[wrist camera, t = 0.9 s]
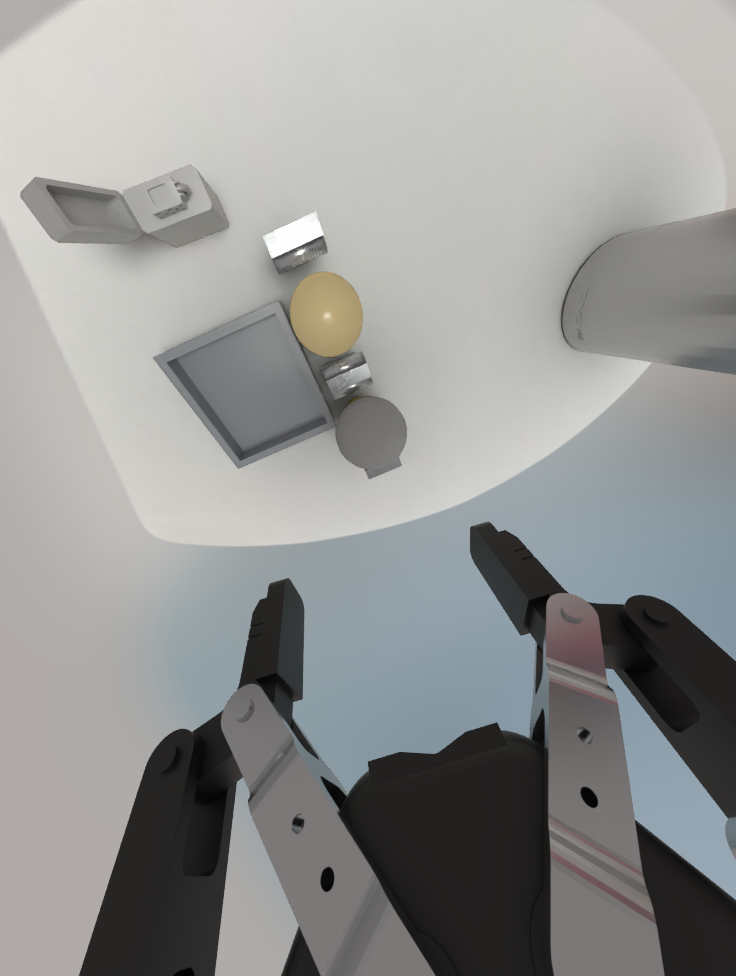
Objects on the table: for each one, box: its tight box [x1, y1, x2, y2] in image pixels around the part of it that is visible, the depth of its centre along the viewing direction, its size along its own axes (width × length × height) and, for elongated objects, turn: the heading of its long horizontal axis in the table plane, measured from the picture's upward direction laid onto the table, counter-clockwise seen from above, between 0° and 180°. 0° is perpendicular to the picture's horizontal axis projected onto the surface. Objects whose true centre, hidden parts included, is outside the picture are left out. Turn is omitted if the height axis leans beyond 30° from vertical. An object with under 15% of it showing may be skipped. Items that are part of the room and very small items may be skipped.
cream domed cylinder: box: [290, 272, 363, 357], centre depth 19 cm, size 4×4×8 cm
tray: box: [153, 301, 336, 469], centre depth 24 cm, size 10×10×2 cm
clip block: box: [262, 211, 402, 479], centre depth 22 cm, size 3×17×6 cm, turn 20°
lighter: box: [20, 165, 229, 247], centre depth 15 cm, size 7×2×8 cm, turn 108°
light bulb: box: [336, 397, 407, 469], centre depth 23 cm, size 6×6×10 cm
